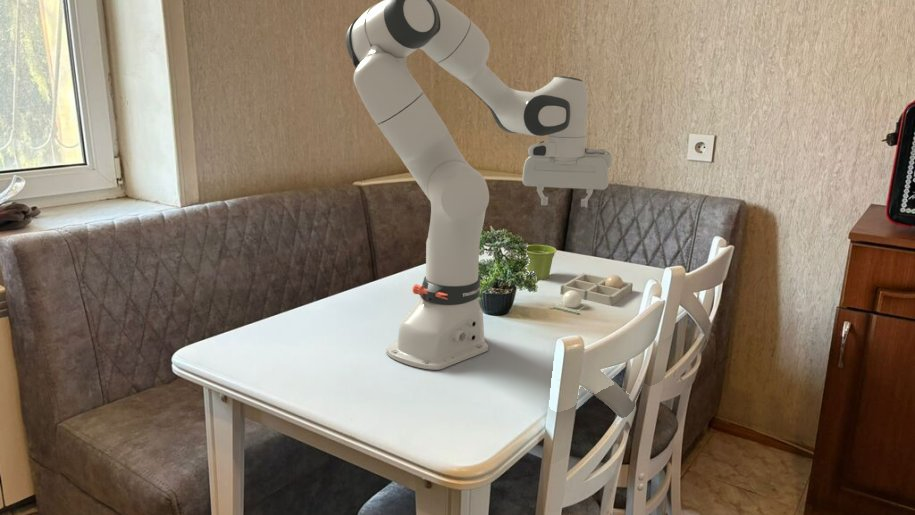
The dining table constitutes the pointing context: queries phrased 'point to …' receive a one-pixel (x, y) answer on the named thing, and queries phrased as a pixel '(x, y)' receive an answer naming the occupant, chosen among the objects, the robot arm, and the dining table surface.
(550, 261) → the plant pot
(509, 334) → the dining table surface
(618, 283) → the brown egg
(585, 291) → the egg tray
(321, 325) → the dining table surface
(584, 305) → the glass coaster
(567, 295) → the off-white ball
